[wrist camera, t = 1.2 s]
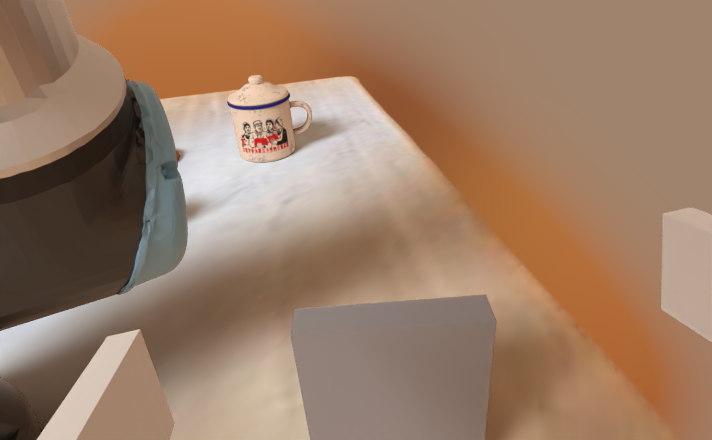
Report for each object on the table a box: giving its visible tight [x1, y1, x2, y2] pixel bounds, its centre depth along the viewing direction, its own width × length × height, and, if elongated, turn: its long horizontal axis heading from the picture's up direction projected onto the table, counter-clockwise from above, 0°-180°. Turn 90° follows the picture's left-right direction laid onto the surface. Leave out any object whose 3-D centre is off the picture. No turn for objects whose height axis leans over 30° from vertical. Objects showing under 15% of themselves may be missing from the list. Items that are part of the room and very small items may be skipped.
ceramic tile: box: [291, 295, 496, 440], centre depth 28 cm, size 2×10×12 cm, turn 92°
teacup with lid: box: [227, 75, 312, 162], centre depth 74 cm, size 12×9×12 cm
